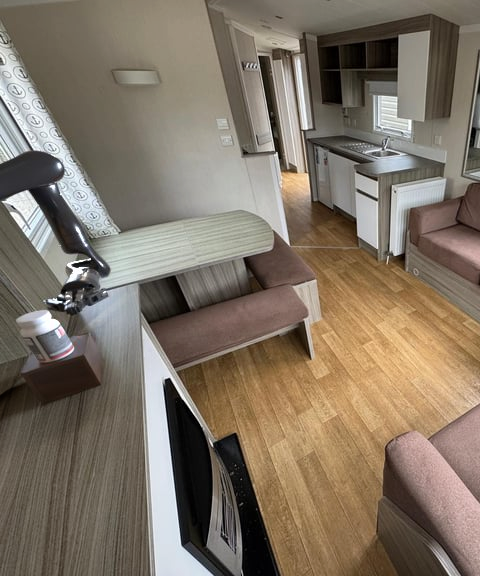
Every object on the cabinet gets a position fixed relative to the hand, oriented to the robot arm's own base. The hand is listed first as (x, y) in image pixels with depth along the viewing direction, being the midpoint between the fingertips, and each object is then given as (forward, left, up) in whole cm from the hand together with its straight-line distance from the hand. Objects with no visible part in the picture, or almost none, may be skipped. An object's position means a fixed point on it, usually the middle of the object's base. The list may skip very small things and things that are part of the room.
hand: (72, 311), depth 75 cm
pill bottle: (+4, -14, -4) cm, 15 cm away
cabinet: (+3, -12, -12) cm, 17 cm away
